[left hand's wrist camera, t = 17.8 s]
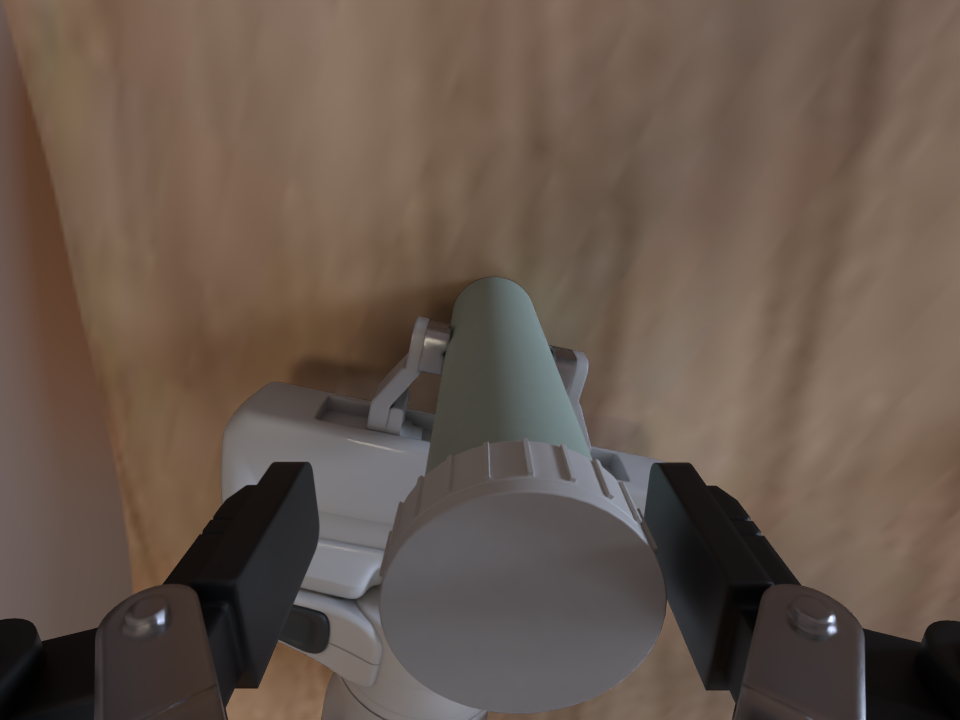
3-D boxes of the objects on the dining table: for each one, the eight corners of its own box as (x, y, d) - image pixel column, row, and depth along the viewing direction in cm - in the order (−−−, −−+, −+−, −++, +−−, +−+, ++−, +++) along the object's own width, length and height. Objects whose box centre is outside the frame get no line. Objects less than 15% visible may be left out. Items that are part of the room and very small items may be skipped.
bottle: (543, 286, 27) (660, 508, 10) (523, 362, 28) (594, 675, 11) (461, 268, 26) (430, 465, 9) (445, 347, 28) (392, 643, 11)
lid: (368, 450, 10) (347, 504, 9) (643, 423, 10) (675, 473, 8) (409, 651, 12) (398, 727, 10) (643, 632, 12) (669, 705, 10)
